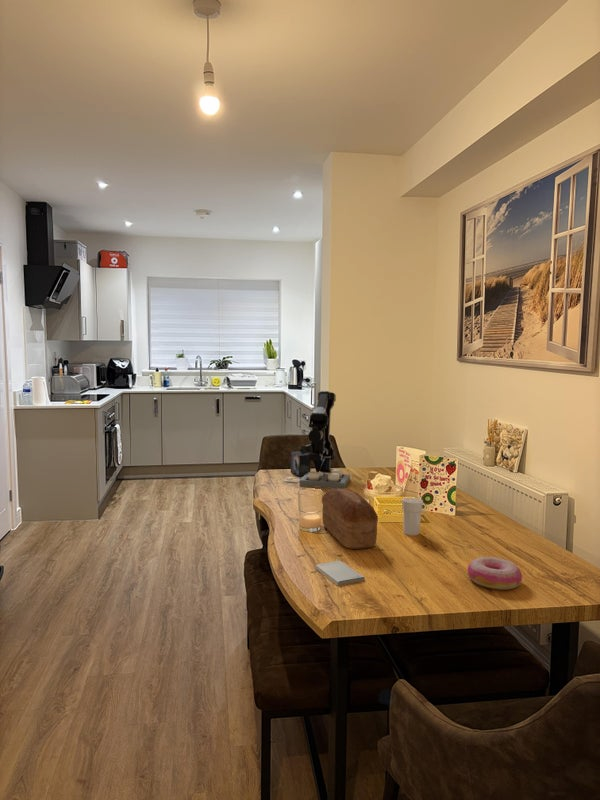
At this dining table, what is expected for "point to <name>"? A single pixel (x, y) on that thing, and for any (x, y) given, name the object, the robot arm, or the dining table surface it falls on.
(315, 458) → the robot arm
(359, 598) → the dining table surface
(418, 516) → the cup
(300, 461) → the small box
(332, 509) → the bread
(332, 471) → the button
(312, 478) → the button
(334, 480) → the button
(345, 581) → the hard drive
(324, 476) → the board
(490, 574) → the donut
